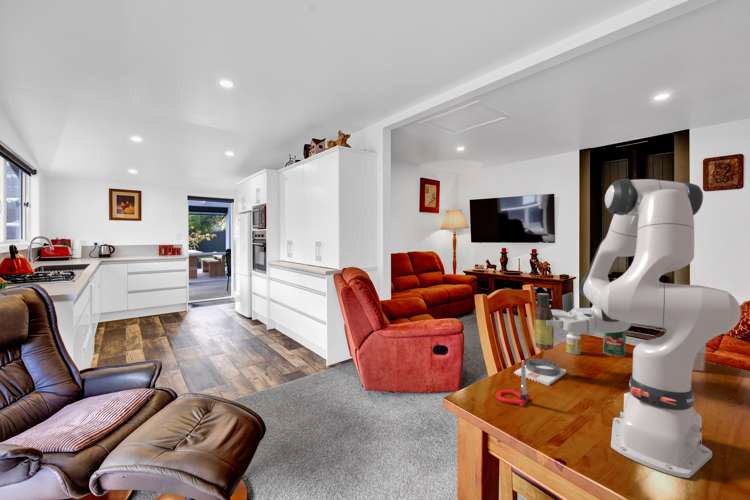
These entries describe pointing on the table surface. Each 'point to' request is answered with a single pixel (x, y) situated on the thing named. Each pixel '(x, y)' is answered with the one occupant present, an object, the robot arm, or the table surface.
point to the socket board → (542, 377)
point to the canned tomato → (614, 343)
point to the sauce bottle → (543, 323)
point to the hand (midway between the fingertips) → (541, 319)
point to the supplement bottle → (573, 343)
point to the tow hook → (522, 395)
